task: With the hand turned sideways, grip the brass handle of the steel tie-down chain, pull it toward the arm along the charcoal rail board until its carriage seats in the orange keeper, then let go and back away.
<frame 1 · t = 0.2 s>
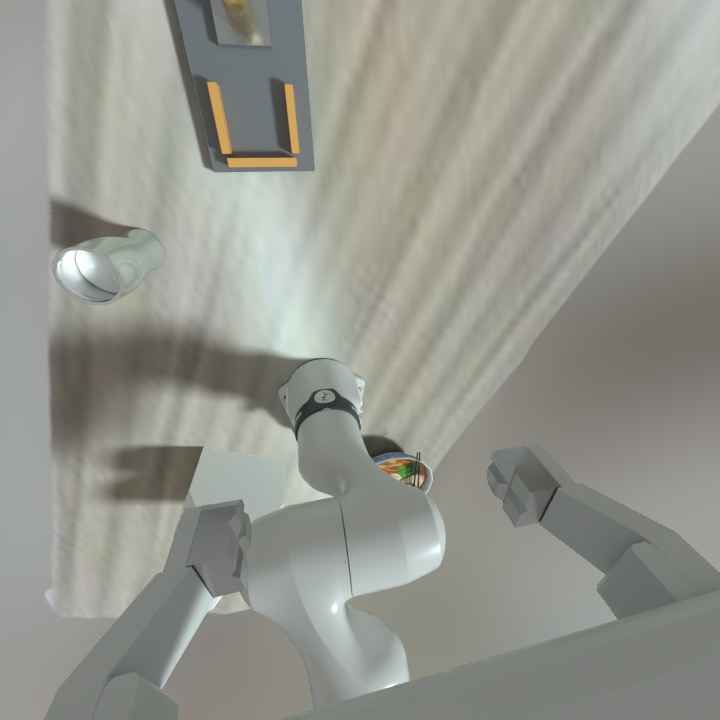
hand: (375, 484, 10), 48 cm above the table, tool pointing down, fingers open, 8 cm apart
rail board: (249, 58, 38), on the table
milk carton: (237, 473, 75), on the table
ramen bowl: (384, 465, 84), on the table
beer glass: (144, 249, 46), on the table
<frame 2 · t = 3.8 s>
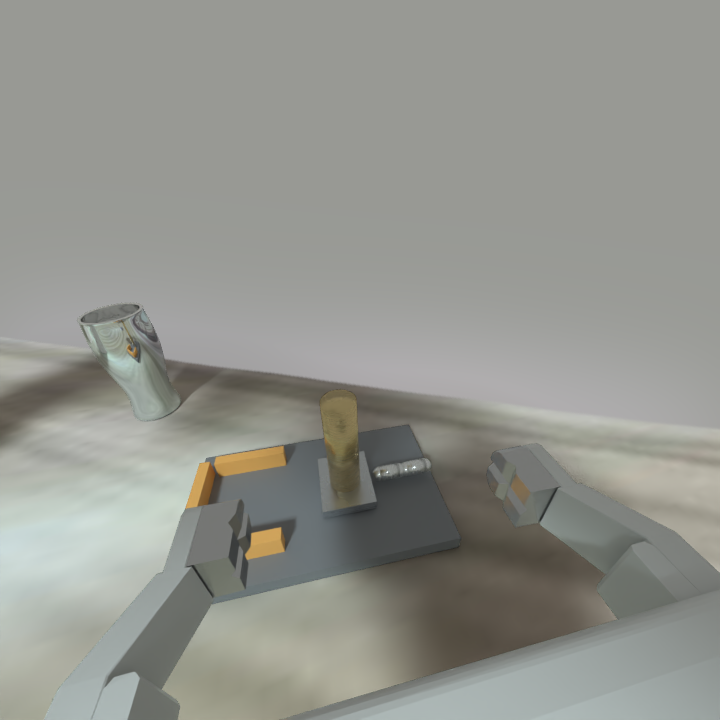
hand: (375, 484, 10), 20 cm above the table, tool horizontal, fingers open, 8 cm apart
rail board: (317, 501, 31), on the table
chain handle: (371, 442, 28), point 7 cm above the table, slide at 0.0 cm
beer glass: (159, 407, 44), on the table
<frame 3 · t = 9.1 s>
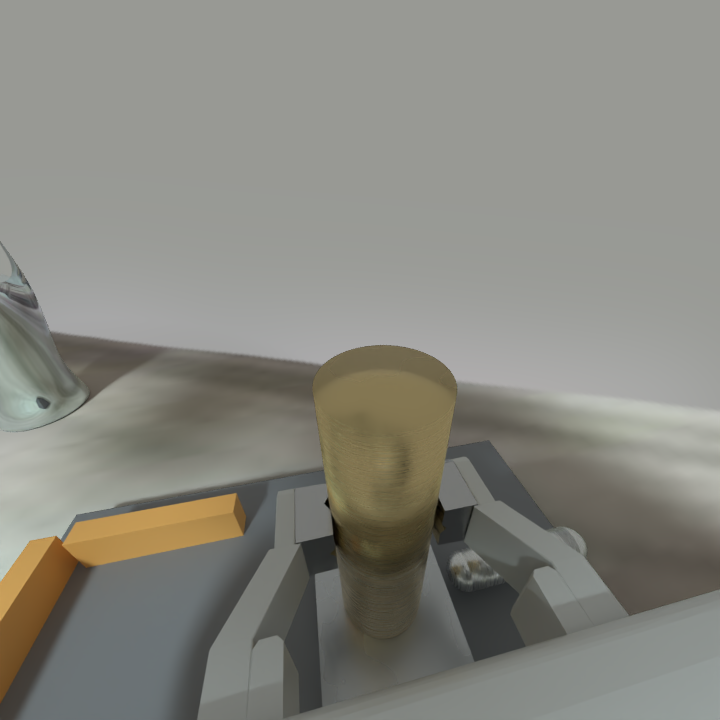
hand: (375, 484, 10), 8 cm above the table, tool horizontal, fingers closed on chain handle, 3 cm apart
rail board: (312, 634, 13), on the table
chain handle: (464, 506, 10), point 7 cm above the table, slide at 0.0 cm, touching gripper
beer glass: (48, 408, 26), on the table
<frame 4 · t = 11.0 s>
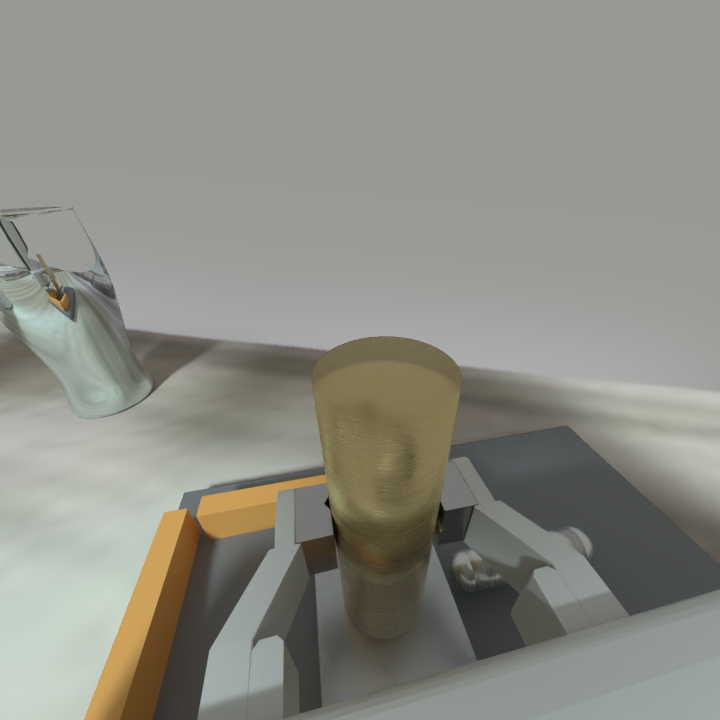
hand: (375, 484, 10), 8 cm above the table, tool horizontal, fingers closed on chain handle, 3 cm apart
rail board: (436, 603, 13), on the table
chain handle: (468, 504, 9), point 7 cm above the table, slide at 5.5 cm, touching gripper
beer glass: (116, 397, 27), on the table
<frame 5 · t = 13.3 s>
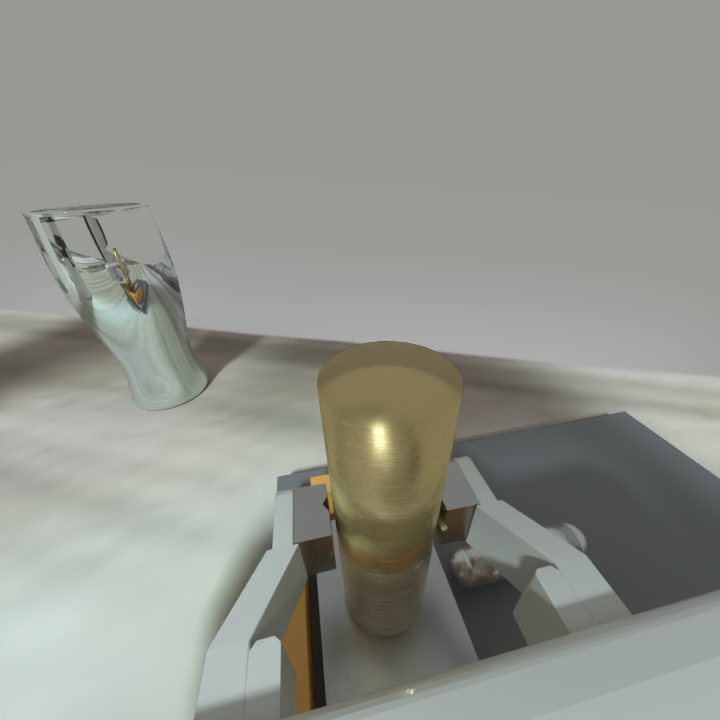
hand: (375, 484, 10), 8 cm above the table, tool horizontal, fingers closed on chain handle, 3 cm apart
rail board: (536, 572, 14), on the table
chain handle: (467, 503, 10), point 7 cm above the table, slide at 10.6 cm, touching gripper
beer glass: (173, 390, 28), on the table
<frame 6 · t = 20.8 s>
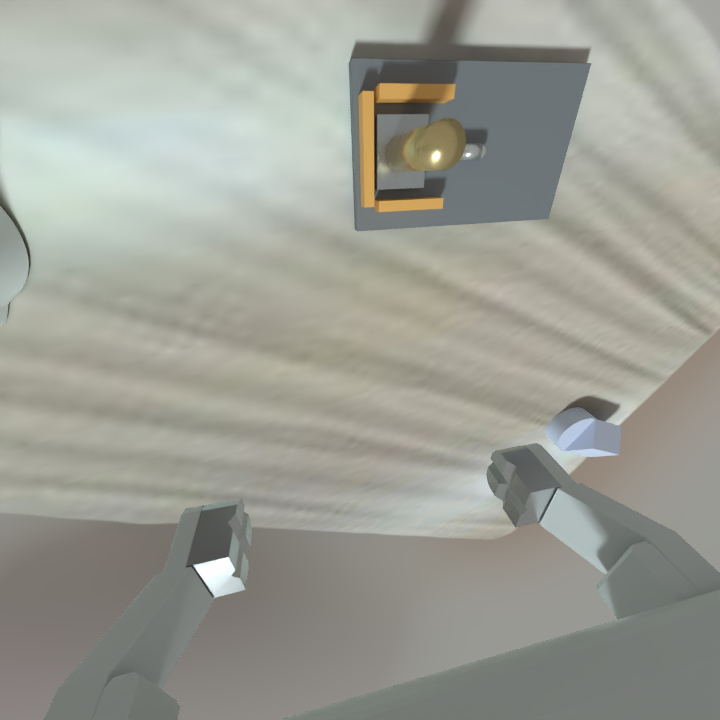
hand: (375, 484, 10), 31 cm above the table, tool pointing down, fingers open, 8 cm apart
rail board: (460, 153, 33), on the table
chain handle: (448, 149, 26), point 7 cm above the table, slide at 10.5 cm
wedge on round base: (571, 424, 63), on the table
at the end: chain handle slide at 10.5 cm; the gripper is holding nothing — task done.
